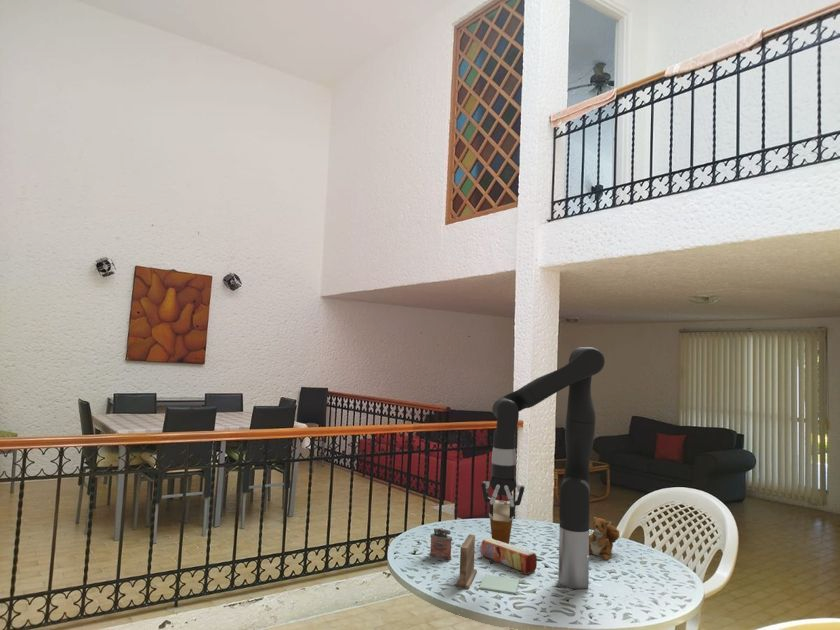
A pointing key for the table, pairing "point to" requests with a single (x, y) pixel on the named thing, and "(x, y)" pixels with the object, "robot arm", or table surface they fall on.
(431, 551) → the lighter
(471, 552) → the walnut screen
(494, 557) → the snack package
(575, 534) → the robot arm
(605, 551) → the stuffed squirrel
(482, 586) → the sage pad
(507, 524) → the disposable coffee cup
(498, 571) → the table surface
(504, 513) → the letter cube
